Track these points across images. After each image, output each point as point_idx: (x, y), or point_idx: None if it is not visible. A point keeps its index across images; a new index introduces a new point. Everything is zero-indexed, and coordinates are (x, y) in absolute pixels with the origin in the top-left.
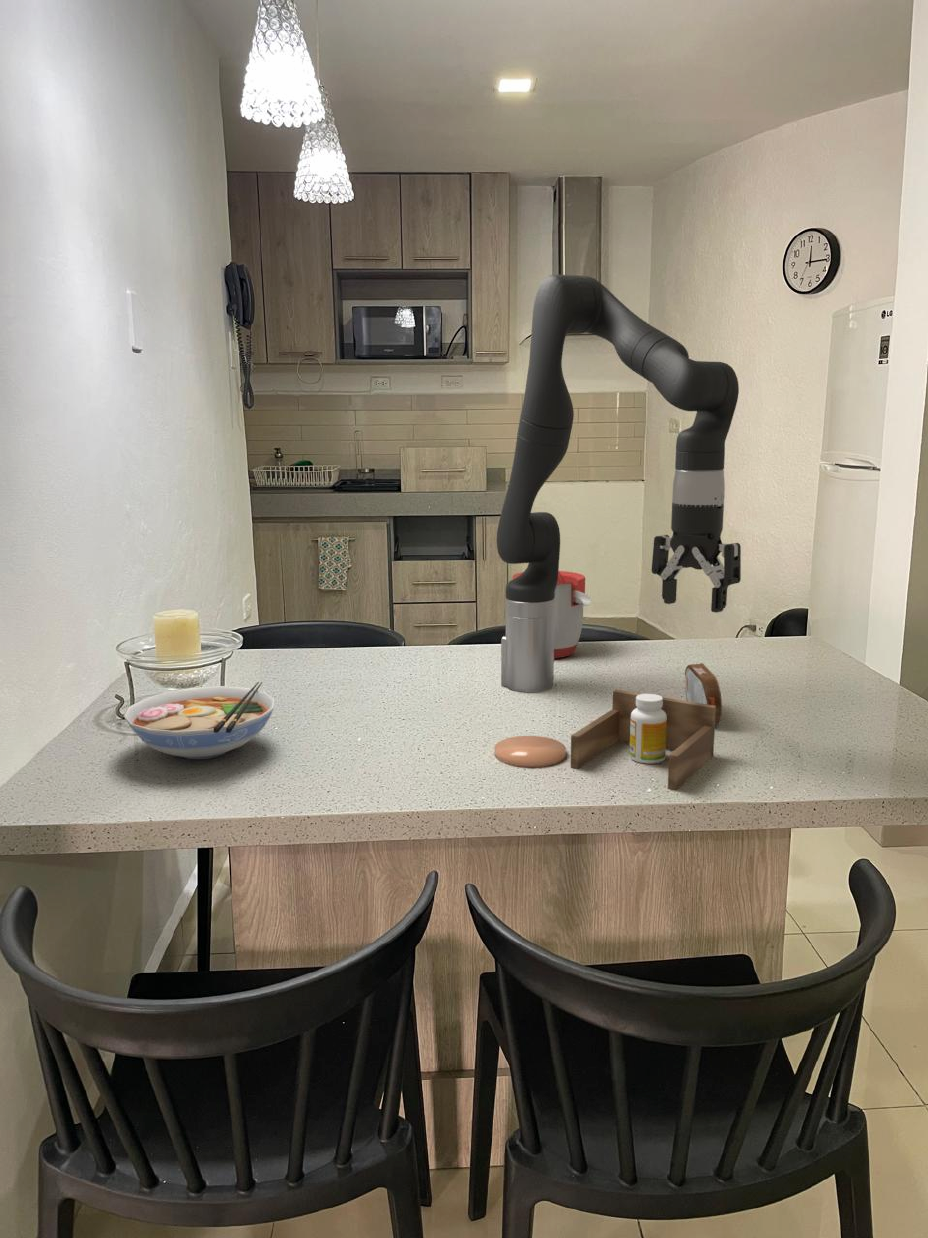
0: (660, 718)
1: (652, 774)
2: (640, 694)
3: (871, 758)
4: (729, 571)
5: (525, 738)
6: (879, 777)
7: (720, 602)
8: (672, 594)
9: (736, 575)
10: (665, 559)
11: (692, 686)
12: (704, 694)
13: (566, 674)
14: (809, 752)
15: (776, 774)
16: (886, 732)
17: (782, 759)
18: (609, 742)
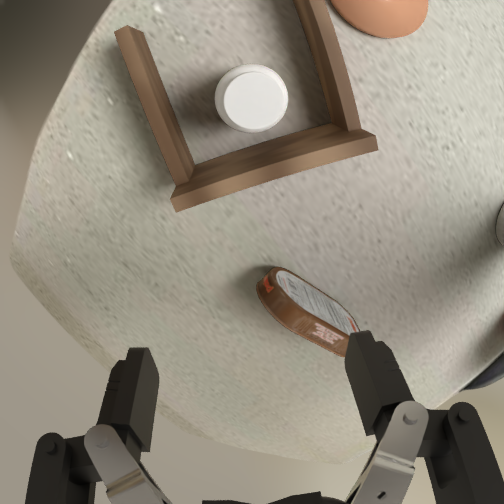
0: (215, 94)
1: (194, 50)
2: (282, 103)
3: (88, 312)
4: (36, 483)
5: (413, 16)
6: (46, 275)
7: (111, 380)
8: (356, 374)
9: (72, 483)
10: (441, 481)
11: (335, 317)
12: (288, 293)
13: (496, 278)
14: (129, 284)
15: (95, 194)
16: None
17: (127, 242)
18: (324, 90)
